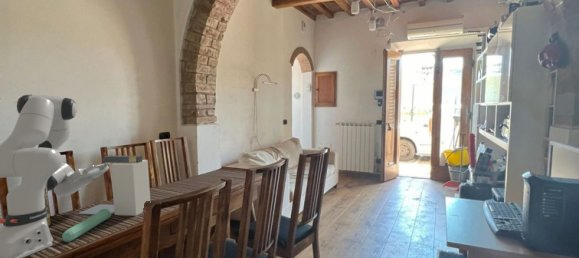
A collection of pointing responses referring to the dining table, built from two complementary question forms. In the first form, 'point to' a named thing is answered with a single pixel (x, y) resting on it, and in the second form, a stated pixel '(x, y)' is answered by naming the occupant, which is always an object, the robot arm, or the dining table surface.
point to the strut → (122, 159)
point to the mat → (97, 209)
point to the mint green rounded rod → (86, 225)
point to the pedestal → (130, 187)
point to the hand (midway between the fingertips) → (101, 164)
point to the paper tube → (47, 204)
